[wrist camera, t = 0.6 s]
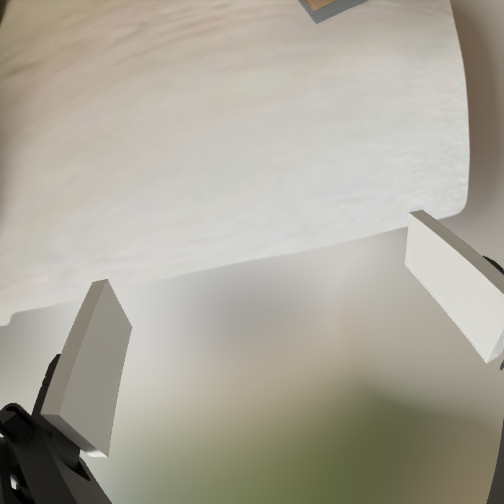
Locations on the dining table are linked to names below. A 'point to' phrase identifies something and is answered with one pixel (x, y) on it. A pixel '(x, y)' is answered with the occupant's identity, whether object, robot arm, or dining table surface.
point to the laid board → (318, 3)
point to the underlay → (330, 9)
